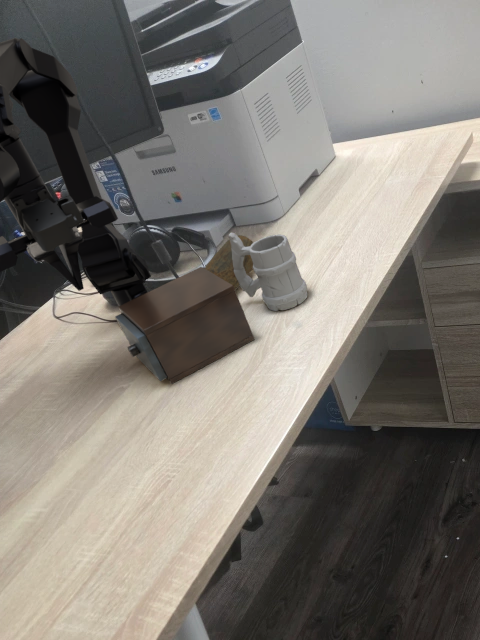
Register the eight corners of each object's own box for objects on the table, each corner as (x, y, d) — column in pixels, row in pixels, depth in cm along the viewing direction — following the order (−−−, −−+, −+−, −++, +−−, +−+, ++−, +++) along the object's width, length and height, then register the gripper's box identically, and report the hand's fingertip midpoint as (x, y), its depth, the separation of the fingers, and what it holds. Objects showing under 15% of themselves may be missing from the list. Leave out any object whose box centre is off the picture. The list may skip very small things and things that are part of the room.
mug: (299, 310, 105) (274, 238, 97) (237, 314, 110) (209, 245, 102) (316, 287, 110) (294, 216, 102) (256, 292, 115) (230, 224, 107)
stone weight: (232, 268, 125) (219, 234, 121) (265, 264, 123) (252, 229, 119) (201, 308, 115) (185, 272, 111) (236, 304, 113) (221, 267, 108)
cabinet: (171, 384, 97) (143, 330, 91) (145, 357, 106) (117, 306, 100) (254, 339, 102) (233, 285, 95) (222, 317, 110) (201, 266, 104)
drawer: (153, 385, 96) (129, 342, 92) (130, 360, 104) (107, 320, 99) (238, 340, 101) (220, 296, 96) (210, 319, 109) (192, 278, 104)
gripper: (-42, 220, 79) (32, 333, 90) (99, 162, 85) (153, 275, 95) (-52, 206, 87) (17, 311, 97) (78, 153, 92) (130, 258, 103)
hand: (80, 289), depth 98 cm, fingers closed
